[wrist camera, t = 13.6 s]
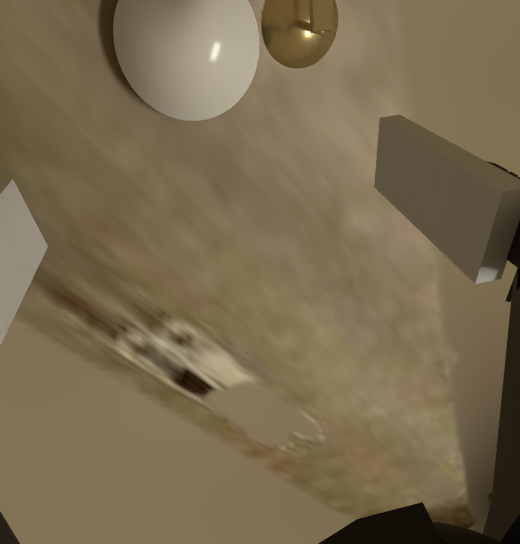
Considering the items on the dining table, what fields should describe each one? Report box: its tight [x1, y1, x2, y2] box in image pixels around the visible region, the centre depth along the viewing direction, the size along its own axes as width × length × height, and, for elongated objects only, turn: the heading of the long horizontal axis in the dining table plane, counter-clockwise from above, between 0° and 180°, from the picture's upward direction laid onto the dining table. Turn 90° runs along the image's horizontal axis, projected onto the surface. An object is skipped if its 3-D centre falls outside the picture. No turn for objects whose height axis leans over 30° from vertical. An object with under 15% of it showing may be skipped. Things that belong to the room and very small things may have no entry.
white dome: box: [113, 0, 259, 121], centre depth 36 cm, size 13×13×1 cm
